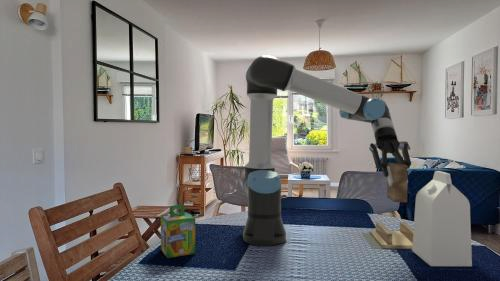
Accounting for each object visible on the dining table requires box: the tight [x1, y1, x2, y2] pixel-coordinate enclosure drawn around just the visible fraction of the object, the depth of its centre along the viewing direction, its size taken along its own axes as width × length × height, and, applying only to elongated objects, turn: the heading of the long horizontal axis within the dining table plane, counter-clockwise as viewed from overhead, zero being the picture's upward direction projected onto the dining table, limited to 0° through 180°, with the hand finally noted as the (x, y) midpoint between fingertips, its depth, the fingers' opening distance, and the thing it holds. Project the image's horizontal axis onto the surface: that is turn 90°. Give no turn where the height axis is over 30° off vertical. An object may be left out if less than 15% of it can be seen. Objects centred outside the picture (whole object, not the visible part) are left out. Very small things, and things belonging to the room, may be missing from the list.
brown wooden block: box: [386, 162, 409, 203], centre depth 121 cm, size 4×8×12 cm, turn 176°
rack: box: [369, 221, 414, 250], centre depth 122 cm, size 14×15×4 cm
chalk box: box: [160, 204, 196, 259], centre depth 113 cm, size 9×9×15 cm
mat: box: [360, 232, 410, 250], centre depth 122 cm, size 20×16×1 cm
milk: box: [411, 170, 473, 267], centre depth 105 cm, size 12×12×26 cm
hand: (398, 183), depth 119 cm, fingers closed on brown wooden block, 4 cm apart
